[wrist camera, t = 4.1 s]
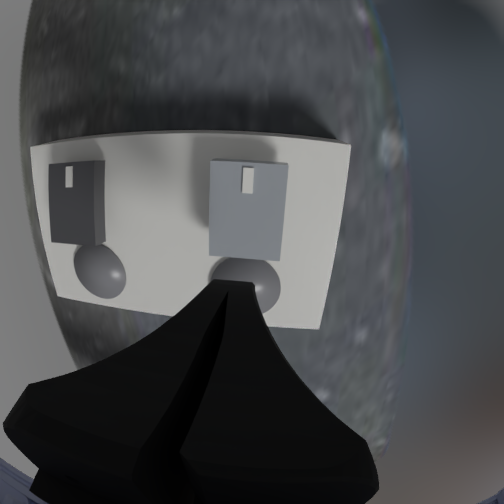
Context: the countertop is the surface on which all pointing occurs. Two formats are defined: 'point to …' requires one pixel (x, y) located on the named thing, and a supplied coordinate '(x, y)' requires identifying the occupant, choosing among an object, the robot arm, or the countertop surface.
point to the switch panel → (196, 221)
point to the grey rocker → (247, 208)
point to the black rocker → (77, 202)
